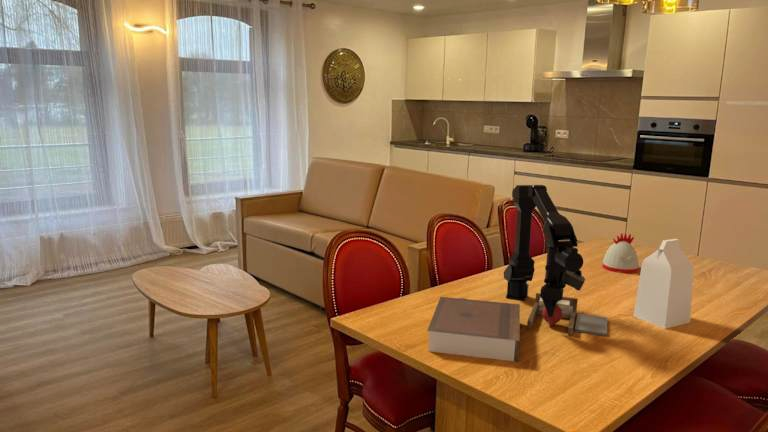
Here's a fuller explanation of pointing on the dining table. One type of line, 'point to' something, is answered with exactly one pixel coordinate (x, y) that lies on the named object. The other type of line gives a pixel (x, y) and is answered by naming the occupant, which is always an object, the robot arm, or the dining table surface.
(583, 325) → the slate board
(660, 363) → the dining table surface
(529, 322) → the rack
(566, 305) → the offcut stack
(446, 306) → the book
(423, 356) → the dining table surface
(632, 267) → the knit hat
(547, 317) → the onion
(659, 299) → the milk
